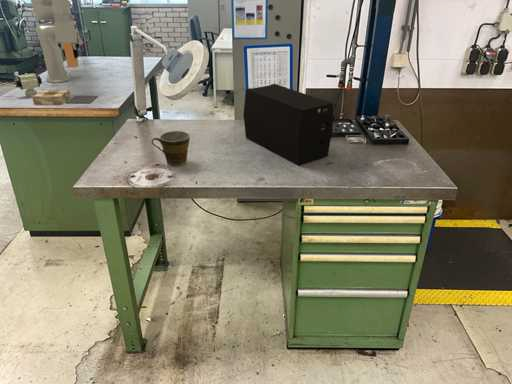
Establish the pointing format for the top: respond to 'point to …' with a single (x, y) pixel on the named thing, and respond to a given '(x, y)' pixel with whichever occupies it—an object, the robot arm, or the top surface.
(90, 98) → the rubber pad
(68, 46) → the peg
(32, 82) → the pneumatic valve
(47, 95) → the socket block
